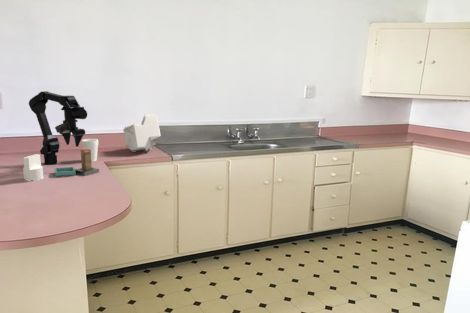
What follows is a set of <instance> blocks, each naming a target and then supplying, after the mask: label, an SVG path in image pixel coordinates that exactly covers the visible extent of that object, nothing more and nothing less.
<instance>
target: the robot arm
mask: <svg viewBox="0 0 470 313" xmlns="http://www.w3.org/2000/svg"><path fill="white" fill-rule="evenodd" d="M49 101H51V102H55V103H58V104H59V105H60V106H62V108H60V110H61V111H63V114H64V120H62V123H60V124H58V125H56V126H55V127H54V129H55V131H56V133H57V134H59V135H61V136H62V137H63V139H64V141H65V144H66V145H70V141H71V136H72V137H73V138H74V143H75V146H76V147H79V145H80V143H81V142H82V140H83V139H82V138H83V137H84V136H85V135H86V130H85V129H84V128H79V127H78V126H77V122H78V120H86V119H87V117H88V112H87V110H86V109H85V107H84V106H80V104H79V102H78V100H77V99H76V97H75V95H61V94H58V93H57V94H56V93H52V92H50V91H46V90H45V91H44V90H43V91H40V92H38V93H37V94H36V95H34V96H33V97H31V98H30V99H29V101H28V105H29V109H31V111H32V112H33V113H34V114H35V117H36V118H37V122H38V124H39V128H40V130H41V134H42V137H43V140H42V147H41V149H40V150H39V152H40V155H43V160H44V165H57V163H58V155H57V154H56V153H59V151H60V144H61V143H60V142H59V138H58V137H55V136H54V135H53V132H52V130H51V127H50V123H49V121H48V118H47V114H46V109H47V105H46V104H48V102H49Z"/></svg>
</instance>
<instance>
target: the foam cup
mask: <svg viewBox="0 0 470 313" xmlns="http://www.w3.org/2000/svg"><path fill="white" fill-rule="evenodd" d="M81 145H82V149H90V150H91V163H93V162H96V161H97V160H98V148H99V139H98V138H84V139H81Z"/></svg>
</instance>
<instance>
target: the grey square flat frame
mask: <svg viewBox="0 0 470 313" xmlns="http://www.w3.org/2000/svg"><path fill="white" fill-rule="evenodd" d="M75 171H76V174H78V175H81V176H84V175H85V176H86V175H87V176H90V174H91V175H94V174H98V172H99V173H100V168H98V167H97V168H96V167H93V166H92V170H88V171H84V170H82V167H81V168H80V167H79V168H75ZM85 176H84V177H85Z"/></svg>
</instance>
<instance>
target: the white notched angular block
mask: <svg viewBox="0 0 470 313" xmlns="http://www.w3.org/2000/svg"><path fill="white" fill-rule="evenodd" d="M157 114H158V113H152V114H144V116H143V117H142V121H141V123H140V124H137V123H129V124H128V125H126V126H125V127H124V128H123V129H122V130H123V135H124V141H125V142H124V143H125V146H126V148H128V149H129V151H131V152H132V153H136V152H137V151H145V152H146V153H148V152H150V150H152V148H153V147H154V146H155V145H156V143H155V142H154V141H153V140H155V139H158V138H159V137H161V136H162V134H161V130H160V124H159V118H158V115H157Z"/></svg>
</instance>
